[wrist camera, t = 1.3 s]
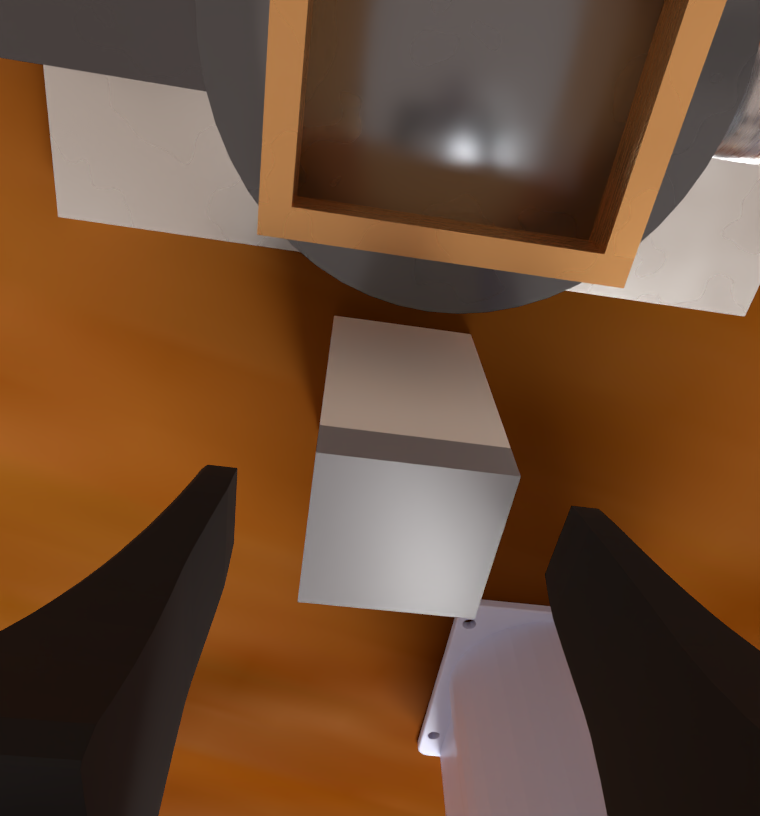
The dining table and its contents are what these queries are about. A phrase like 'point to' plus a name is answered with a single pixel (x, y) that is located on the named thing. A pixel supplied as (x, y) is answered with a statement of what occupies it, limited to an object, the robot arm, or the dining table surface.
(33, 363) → the dining table surface
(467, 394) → the block
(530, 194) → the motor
